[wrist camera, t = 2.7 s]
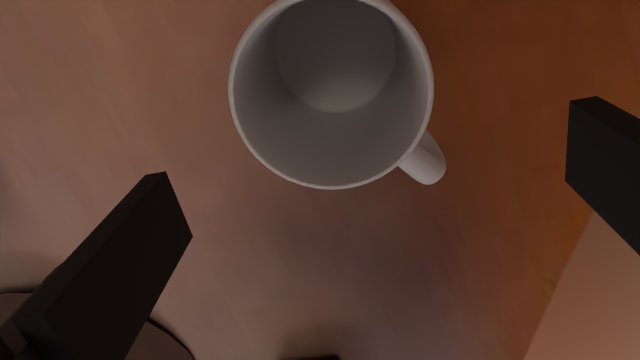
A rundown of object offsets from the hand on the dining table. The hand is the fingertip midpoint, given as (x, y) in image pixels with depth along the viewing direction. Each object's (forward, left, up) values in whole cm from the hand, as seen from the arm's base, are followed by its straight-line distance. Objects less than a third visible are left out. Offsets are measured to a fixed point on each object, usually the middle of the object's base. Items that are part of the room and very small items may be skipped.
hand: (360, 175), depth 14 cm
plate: (+34, +26, -15) cm, 45 cm away
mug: (0, 0, -15) cm, 15 cm away
